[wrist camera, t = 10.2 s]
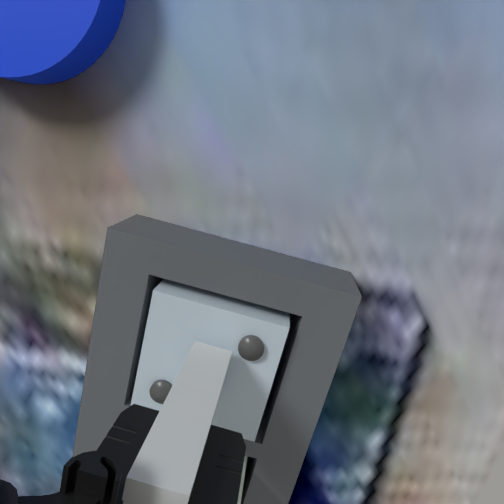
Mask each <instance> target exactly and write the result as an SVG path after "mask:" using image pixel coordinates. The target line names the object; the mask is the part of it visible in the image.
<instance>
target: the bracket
mask: <svg viewBox="0 0 504 504" xmlns="http://www.w3.org/2000/svg"><path fill="white" fill-rule="evenodd" d="M125 1H126V0H0V78H5V79H9V80H13V81H18V82H23V83H28V84H52V83H57V82H61V81H64V80H67V79H70V78H72V77H74V76H76V75H78V74H80V73H81V72H83V71H85V70H86V69H87V68H89V67H90V66H91V65H92V64H94V63H95V62H96V60H97V59H98V58H99V57H100V56H101V55H102V54H103V53H104V51H105V50H106V49H107V47H108V46H109V44H110V43H111V41H112V39H113V38H114V35H115V33H116V31H117V29H118V27H119V24H120V21H121V18H122V15H123V11H124V6H125Z"/></svg>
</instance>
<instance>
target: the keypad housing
mask: <svg viewBox="0 0 504 504" xmlns="http://www.w3.org/2000/svg"><path fill="white" fill-rule="evenodd" d="M163 279H168V280H171V281H175V282H179V283H182V284H186V285H190V286H193V287H197V288H200V289H204V290H208V291H211V292H215V293H219V294H222V295H226V296H230V297H233V298H237V299H240V300H244V301H248V302H251V303H255V304H259V305H262V306H266V307H270V308H273V309H277V310H281V311H284V312H288V313H291V314H293V317H292V320H291V323H290V328H289V332H288V335H287V338H286V341H285V345H284V348H283V351H282V354H281V358H280V361H279V364H278V367H277V371H276V374H275V377H274V380H273V383H272V387H271V390H270V393H269V396H268V400H267V403H266V406H265V409H264V413H263V416H262V419H261V422H260V426H259V429H258V432H257V435H256V439H255V442H253V441H250V440H246V439H244V442H245V445H246V451H245V456H248V457H249V459H248V463H247V466H246V470H245V477H244V484H243V491H242V498H241V504H288V503H289V500H290V497H291V494H292V492H293V489H294V486H295V483H296V480H297V478H298V475H299V472H300V469H301V466H302V464H303V461H304V458H305V455H306V452H307V450H308V447H309V444H310V441H311V438H312V436H313V433H314V430H315V427H316V424H317V422H318V419H319V416H320V413H321V410H322V407H323V405H324V402H325V399H326V396H327V393H328V391H329V388H330V385H331V382H332V379H333V377H334V374H335V371H336V368H337V365H338V363H339V360H340V357H341V354H342V351H343V349H344V346H345V343H346V340H347V337H348V335H349V332H350V329H351V326H352V323H353V321H354V318H355V315H356V312H357V309H358V307H359V304H360V301H361V298H362V296H361V294H360V292H359V290H358V287H357V285H356V283H355V281H354V279H353V276H352V274H351V272H347V271H344V270H340V269H336V268H333V267H329V266H325V265H322V264H318V263H314V262H310V261H307V260H303V259H299V258H296V257H292V256H288V255H285V254H281V253H277V252H274V251H270V250H266V249H263V248H259V247H255V246H251V245H248V244H244V243H240V242H237V241H233V240H229V239H226V238H222V237H218V236H215V235H211V234H207V233H203V232H200V231H196V230H192V229H189V228H185V227H181V226H178V225H174V224H170V223H167V222H163V221H159V220H155V219H152V218H148V217H144V216H141V215H135V216H132V217H130V218H128V219H126V220H124V221H121V222H119V223H117V224H115V225H113V226H110V227H108V228H107V235H106V241H105V248H104V254H103V261H102V267H101V274H100V280H99V287H98V293H97V300H96V306H95V313H94V319H93V326H92V332H91V339H90V345H89V352H88V358H87V365H86V372H85V378H84V385H83V391H82V398H81V404H80V411H79V417H78V424H77V430H76V437H75V443H74V450H73V456H72V457H74V456H77V455H79V454H81V453H83V452H89V451H96V450H97V449H98V447H99V446H100V444H101V443H102V441H103V440H104V438H106V435H107V433H108V432H109V430H110V429H111V427H112V426H113V424H114V422H115V421H116V419H117V418H118V416H119V415H120V413H121V412H122V411H124V410H125V409H127V408H128V407H130V406H131V400H132V395H133V390H134V385H135V380H136V375H137V370H138V365H139V360H140V354H141V349H142V344H143V339H144V334H145V329H146V324H147V319H148V314H149V308H150V303H151V298H152V293H153V290H154V289H155V288H156V287H157V286H158V285H159V283H160V282H161V281H162V280H163Z"/></svg>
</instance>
